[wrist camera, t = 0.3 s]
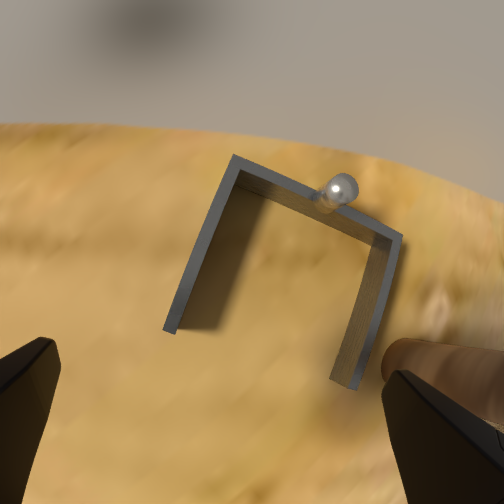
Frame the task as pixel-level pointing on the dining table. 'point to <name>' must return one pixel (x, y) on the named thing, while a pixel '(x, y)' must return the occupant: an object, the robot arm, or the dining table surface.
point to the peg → (454, 373)
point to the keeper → (332, 214)
